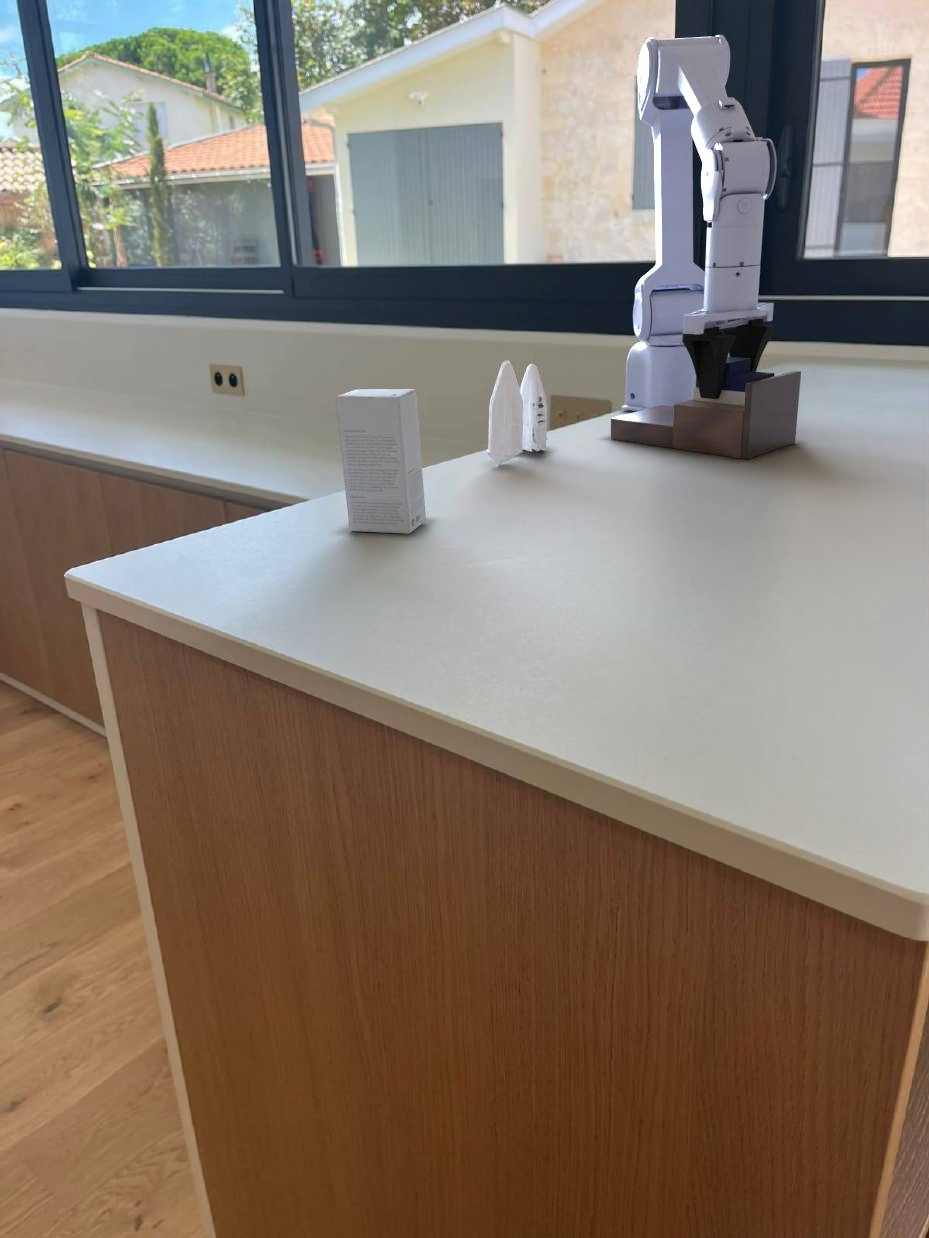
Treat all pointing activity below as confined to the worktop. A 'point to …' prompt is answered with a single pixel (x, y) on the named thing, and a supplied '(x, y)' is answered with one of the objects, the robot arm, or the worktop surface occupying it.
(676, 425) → the step shelf
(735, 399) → the navy stepped block
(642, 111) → the robot arm
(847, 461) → the worktop surface
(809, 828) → the worktop surface
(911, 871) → the worktop surface
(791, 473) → the worktop surface
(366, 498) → the cosmetic box
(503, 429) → the shaker set
